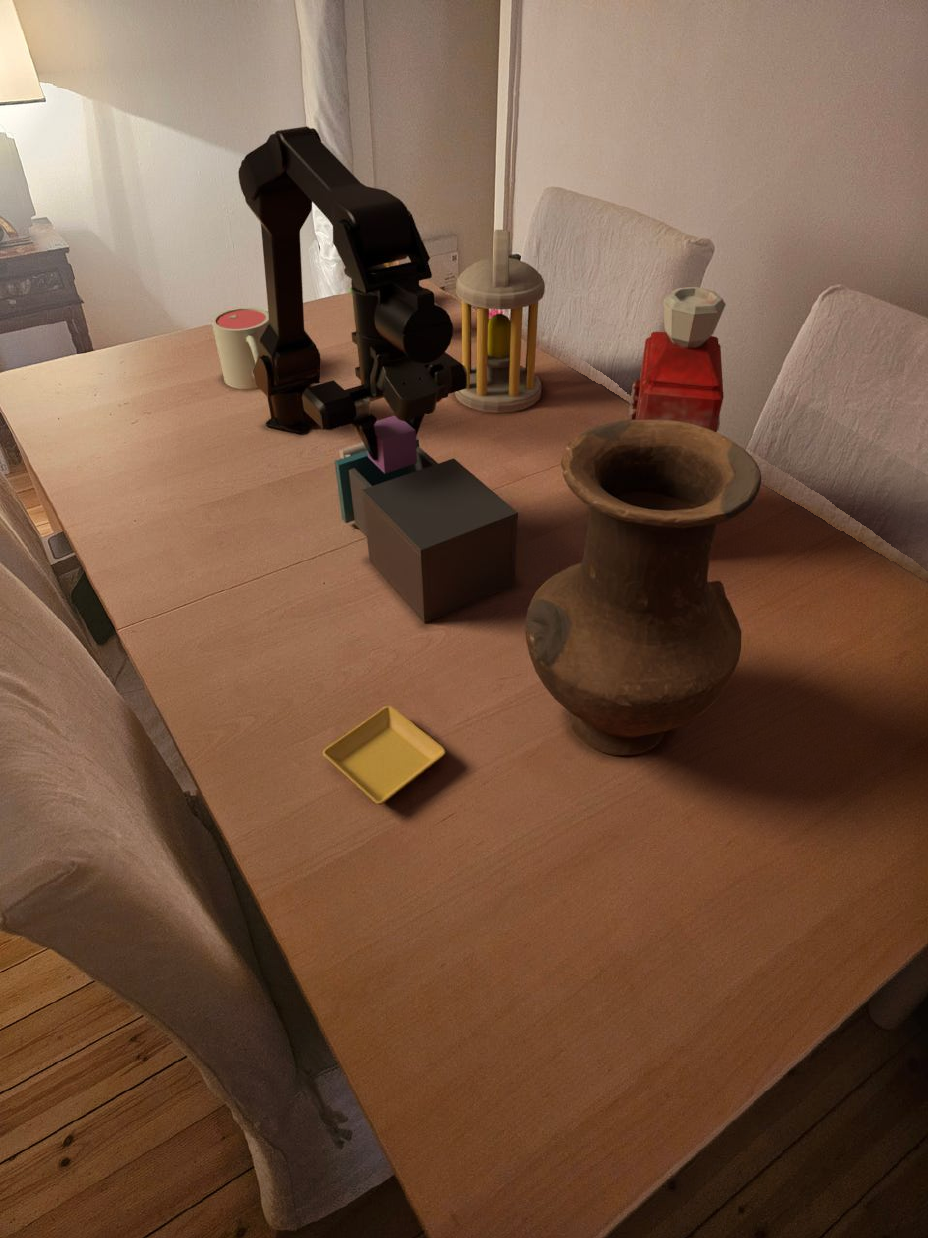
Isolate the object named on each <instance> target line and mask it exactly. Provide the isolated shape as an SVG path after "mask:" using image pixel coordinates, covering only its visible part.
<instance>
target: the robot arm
mask: <svg viewBox="0 0 928 1238" xmlns="http://www.w3.org/2000/svg"><path fill="white" fill-rule="evenodd" d="M243 158H244V159H242V160H241V162H240V166H239V168H238V173H237V174H238V181H239V186H240V190H241V192H242V194H243V197H244V200H245V203H246V204H247V206H248V208H249V209H250V210H251V212H252V213H253V214H254V216H255V217H256V218H257V220H258V221H259V222H260V230H261V241H262V253H263V264H264V265H263V267H264V277H265V288H266V301H267V302H266V303H267V312H268V314H269V324H268V326H267V328H266V329H265V331H264V333H263V334H262V336H261V338H260V340H259V356H260V357H258V359H257V361H256V364H255V367H254V369H253V375H254V378H255V382H256V385H257V386H258V387H259V388H258V389H259V390H260V391H261V392H262V393H263V394H264V395H265V396H266V398H267V403H268V409H269V413H270V419H268V420H267V421H266V422H265V426H266V427H267V428H272V429H276V430H280V431H285V432H290V433H294V434H298V435H300V434H304V433H305V432H306V431H307V430H308V429H309V428H310V427H311V426H312V425H313V424H314V423H315V424H317V426H319V428H321V429H322V430H324V431H325V430H326V431H331V430H335V429H337V428H342V427H344V426H345V427H346V426H347V425H349V426H351V427H353V428H354V429H355V431H356V433H357V434H358V436H359V438H360V440H361V443H364V445H365V447H366V449H367V451H368V453H369V454H370V456H371V458H372V459H373V460H377V455H378V449H377V442H376V435H375V429H374V424H375V423H376V421H378V417H377V416H375V414H373V413H372V412H371V408H370V404H371V402H374V401H377V400H380V399H384V400H385V401H386V403H387V404H388V406H389V407H390V409H391V410H392V411H393V416H396V417H397V418H398V419H399V420H401V421H405V422H406V423H408V424H409V425H410V426H411V427H412V428H413V429H415V430H416V437H417V436H418V433H419V430H420V427H421V424H422V421H423V419H424V417H425V415H431V414H433V413H434V412H435V411H436V406H437V403H440V402H441V401H442V400H443V399H445V398H448V397H449V394H450V395H451V394H453V393H455V392H456V391H460V390H463V389H466V387H467V371H466V368H465V366H464V365H463V364H462V362H460V361H458V360H457V359H456V358H454V357H453V356H452V355H451V354H448V353H447V352H446V351H447V350H448V348H449V346H450V345H451V342H452V339H453V337H454V336H453V335H454V323H453V322H452V319H451V316H450V315H449V313H448V311H447V310H446V309H444V308H443V307H441V305H438V304H437V303H436V302H435V299H436V298H435V293H434V291H432V290H431V289H429V288H427V287H423V286H421V285H420V281H424V280H429V279H431V278H432V277H433V273H432V269H431V266H430V264H429V262H430V259H431V257H430V255H429V252H428V250H427V248H426V246H425V243H424V241H423V239H422V236H421V234H420V232H419V230H418V227H417V224H416V222H415V219H414V217H413V215H412V213H411V211H410V210H409V209H408V207H407V206H406V204H405V203H404V202H403V200H401V199H399V198H398V197H397V196H395V195H394V194H392V193H390V192H389V191H387V190H385V189H381V188H376V187H371V186H367V185H365V184H364V183H362V182H361V181H360V180H359V179H358V178H357V177H356V176H355V175H354V174H353V173H352V172H351V171H350V170H349V169H348V168H347V167H346V166H345V165H344V164H343V163H342V161H340V159H338V158H337V157H336V156H335V154H333V152H332V151H331V150H330V149H329V148H328V147H327V146H326V145H325V144H324V143H323V142H322V139H321V137H320V133H319V132H318V131H317V129H315V128H313V127H309V126H299V127H294V128H287V129H286V128H285V129H280V130H276V131H274V133H271V134H270V135H269V137H268V138H267V140H266V142H264V143H263V144H260V146H258V147H257V148H255V149H253V150H252V151H250V152H248V153H247V154H246V155H245V157H243ZM313 204H314V206H316V208H317V209H318V210H319V211H320V212H321V213H322V215H323V216H325V218H326V219H327V220H328V221H329V223H330V224H331V226H332V244H333V245H334V247H335V249H336V251H337V253H338V257H340V259H341V261H342V263H343V266H344V267H345V268H344V269H343V272H344V275H345V276H347V277H348V278H350V280H351V284H350V285H351V287H352V294H351V295H352V305H353V314H354V326H355V331H352V332H351V334H350V335H351V341H352V343H353V344H354V345H356V346H357V355H358V356H357V357H358V366H356V367H354V371H355V373H354V374H355V377H356V378H358V379H359V380H360V385H356V386H353V387H350V388H346V389H344V388H343V387H342V386H341V385H340V384H339V383H337V382H336V380H330V381H326V382H322V383H320V380H321V379H320V378H321V361H322V359H321V353H320V350H319V348H318V346H317V344H316V343H315V341H314V340H313V339H312V338H311V336H310V335H309V334H308V333H307V332H306V330H305V316H304V315H305V314H304V313H305V312H304V290H303V270H302V269H303V268H302V252H301V251H302V250H301V248H302V247H301V230H302V228H303V226H304V225H305V223H306V221H307V219H308V217H309V216H310V214H311V213H312V210H313ZM407 258H408V259H409V260H410V261H409V262H404V263H400V265H395V266H391V267H386V266H384V265H383V264H385V263H390V262H394V261H399V260H400V261H403V260H406V259H407Z"/></svg>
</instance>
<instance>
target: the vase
mask: <svg viewBox="0 0 928 1238" xmlns="http://www.w3.org/2000/svg"><path fill="white" fill-rule="evenodd" d="M560 466H561V468H562V470H563V472H562V476H563V478H564V481H565V483H566V484H567V487H568V488H569V489H570V491H571V492H572V493H573V494H574V495H575V496H576V497H577V498H578V499H580V500H581V502H583V503H584V504H586V505H587V506H589V512H588V514H589V515H588V518H587V526H586V538H585V545H584V550H583V556H582V560H581V562H579V563H576V564H573V565H571V566H568V567H567V568H565V569H563V570H561V571H559V572H557V573H556V574H554V575H552V576H551V577H549V578H548V579H546V581H544V583H543V584H542V585H541V586H540V587H539V588H538V589H537V590H536V592H535V593H534V595H533V597H532V598H531V600H530V603H529V606H528V608H527V611H526V615H525V625H524V633H525V641H526V646H527V650H528V654H529V657H530V660H531V662H532V665H533V669H534V671H535V673H536V674H537V676H538V678H539V680H540V681H541V682H542V685H543V686H544V687H545V689H546V690H547V691H548V692H549V694H550V695H551V696H552V697H553V699H554V700H556V702H558V704H559V705H561V707H563V708H564V709H566V711H568V712H569V721H570V722H571V729H572V730H573V732H574V734H575V735H576V736H577V737H579V739H580V740H581V741H583V743H585V744H586V745H587V746H589V747H591V748H592V749H594V750H597V751H598V752H601V753H605V754H607V755H614V756H633V755H634V756H635V755H638V754H642V753H646V752H647V751H650V750H652V749H653V748H655V747H656V746H657V745H658V744H659V743H660V742H661V741H662V739H663V737H664V735H665V733H666V732H667V731H670V730H674V729H677V728H679V727H682V726H684V725H686V724H688V723H689V722H691V721H692V720H694V719H695V718H697V717H698V716H700V715H702V714H703V713H704V712H705V711H706V710H708V709H709V708H710V707H711V706H712V704H714V703H715V702H716V701H717V699H718V698H720V695H721V694H722V693H723V691H724V690H725V689H726V687H727V685H728V684H729V682H730V680H731V679H732V677H733V675H734V673H735V671H736V669H737V666H738V663H739V660H740V657H741V656H740V655H741V651H742V628H741V626H740V623H739V621H738V618H737V615H736V613H735V611H734V609H733V607H732V605H731V602H730V601H729V599H728V597H727V594H726V591H725V586H724V583H723V582H722V581H720V580H713V581H708V574H709V567H710V565H709V564H710V555H711V551H712V548H713V547H712V546H713V542H714V537H715V533H716V529H717V524H721V523H724V522H727V521H729V520H731V519H734V518H735V517H737V516H739V515H740V514H741V513H743V512H745V511H746V510H747V509H748V508H749V507H750V506H751V505H752V504H753V502H754V501H755V499H756V498H757V496H758V494H759V492H760V489H761V485H762V473H761V472H762V471H761V469H760V468H759V465H758V463H757V462H756V460H755V458H753V456H752V455H751V453H749V452H748V451H747V450H745V448H743V447H742V446H740V445H739V444H738V443H736V442H734V441H732V440H731V439H729V438H728V437H726V436H724V435H722V434H720V433H718V432H714V431H712V430H709V429H706V428H703V427H700V426H697V425H693V424H690V423H685V422H680V421H672V420H628V419H625V420H619V421H613V422H607V423H605V424H601V425H597V426H594V427H592V428H590V429H588V430H586V431H583V432H582V433H580V434H578V435H576V437H574V438H573V439H572V440H571V441H570V443H568V444H567V445H566V446H565V449H564V450H563V452H562V457H561V460H560Z"/></svg>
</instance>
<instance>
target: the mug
mask: <svg viewBox="0 0 928 1238" xmlns="http://www.w3.org/2000/svg"><path fill="white" fill-rule="evenodd" d="M268 324H269V314H268V310H265V309H263V308H258V307H247V306H244V307H235V308H230V309H226V310H222V311H220V312H218V313H217V314H215V315H214V316H213V317H212V319H211V325H212V330H213V334H214V340H215V343H216V349H217V352H218V353H217V354H218V357H219V361H220V362H219V363H220V367H221V371H222V375H223V381H224V383H225V384H226V385H227V386H228V387H231V388H234V389H239V390H256V389H260V388H259V387H258V386H257V385H256V382H255V378H254V375H253V369H254V367H255V364H256V361H257V359H258V357H260V356H259V340H260V338H261V336H262V334H263V333H264V331H265V329H266V328H267V326H268Z"/></svg>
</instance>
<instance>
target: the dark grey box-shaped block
mask: <svg viewBox="0 0 928 1238" xmlns="http://www.w3.org/2000/svg"><path fill="white" fill-rule="evenodd" d="M362 495H363V505H364V514H365V523H366V532H367V537H366V541H367V547H368V548H367V550H368V558H369V559H368V560H369V562H370V564H372V565H373V567H374V568H375V569H376V570H377V571H378V572H379V574H380V575H381V576H382V577H383V579H385V580H386V581H387V582H388V584H389V585H390V586H391V587H392V588H393V589H394V591H395V592H396V593H397V594H398V595H399V596H400V598H402V600H403V601H404V602H405V603H406V604H407V605H408V606H409V607H410V609H411V610H412V611H413V612H414V613H415V614H416V615H417V617H418V618H419V619H420V620H421V621H422V622H423V623H424V624H426V623H428V622H431V621H433V620H436V619H438V618H440V617H443V616H445V615H447V614H450V613H452V612H454V611H457V610H459V609H462V608H464V607H466V606H468V605H471V604H473V603H475V602H478V601H480V600H482V599H484V598H487V597H489V596H492V595H494V594H497V593H499V592H501V591H504V590H506V589H508V588H511V587H512V586H515V583H516V581H515V580H516V561H517V560H516V559H517V542H518V541H517V540H518V538H517V537H518V518H519V512H518V511H517V510H516V509H514V508H513V506H511V505H510V504H508V503H507V502H506V501H505V500H504V499H502V497H500V496H499V495H498V494H497V493H495V492H494V491H493V490H492V489H491V488H490V487H489V486H488V485H486V484H485V483H484V482H482V480H480V479H479V478H478V477H476V476H475V475H474V474H473V473H472V472H471V471H469V469H467V468H466V467H465V466H464V465H463V464H461V462H459V461H458V460H457V459H456V458H450V459H447V460H444V461H441V462H438V464H436V465H433V466H430V467H427V468H424V469H421V470H418V471H415V472H412V473H409V474H406V475H404V476H401V477H398V478H395V479H392V480H389V481H386V482H383V483H380V484H377V485H374V486H371V487H368V488H366V489H363V490H362Z"/></svg>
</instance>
